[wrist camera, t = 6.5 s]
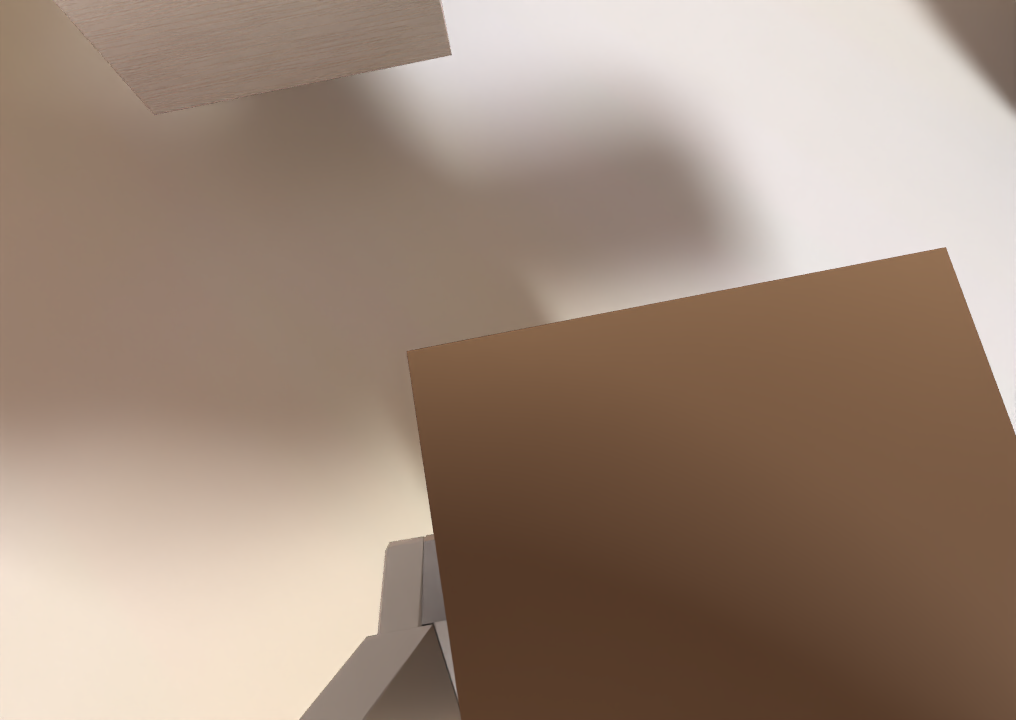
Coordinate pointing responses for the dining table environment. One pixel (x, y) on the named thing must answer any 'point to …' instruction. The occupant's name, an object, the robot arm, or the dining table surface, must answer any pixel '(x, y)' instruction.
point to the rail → (729, 506)
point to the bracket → (252, 43)
